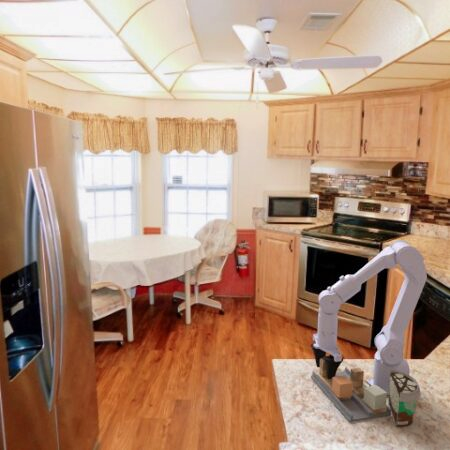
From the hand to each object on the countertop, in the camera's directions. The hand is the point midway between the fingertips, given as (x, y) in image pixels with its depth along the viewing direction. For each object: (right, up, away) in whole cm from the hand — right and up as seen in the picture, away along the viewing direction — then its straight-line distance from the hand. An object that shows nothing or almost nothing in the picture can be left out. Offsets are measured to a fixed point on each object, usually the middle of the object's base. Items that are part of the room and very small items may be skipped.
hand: (325, 372), depth 117 cm
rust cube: (+2, -2, -9) cm, 10 cm away
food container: (+17, -6, -17) cm, 24 cm away
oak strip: (+1, -4, -4) cm, 6 cm away
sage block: (+10, -3, -14) cm, 17 cm away
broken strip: (+9, -4, -10) cm, 14 cm away
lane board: (+5, -4, -7) cm, 9 cm away
